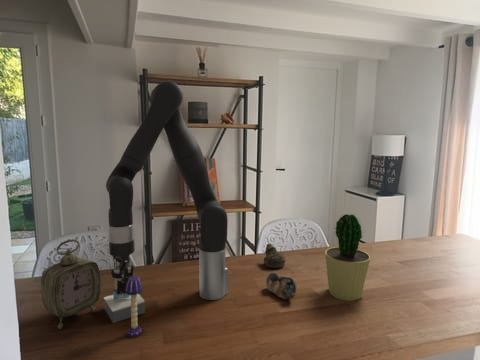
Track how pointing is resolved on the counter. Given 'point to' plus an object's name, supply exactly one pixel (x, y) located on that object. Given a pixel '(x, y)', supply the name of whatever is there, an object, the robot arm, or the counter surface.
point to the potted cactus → (347, 261)
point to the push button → (118, 285)
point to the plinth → (122, 307)
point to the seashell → (273, 257)
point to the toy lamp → (134, 305)
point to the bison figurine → (281, 285)
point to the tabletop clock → (70, 285)
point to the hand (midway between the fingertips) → (123, 289)
